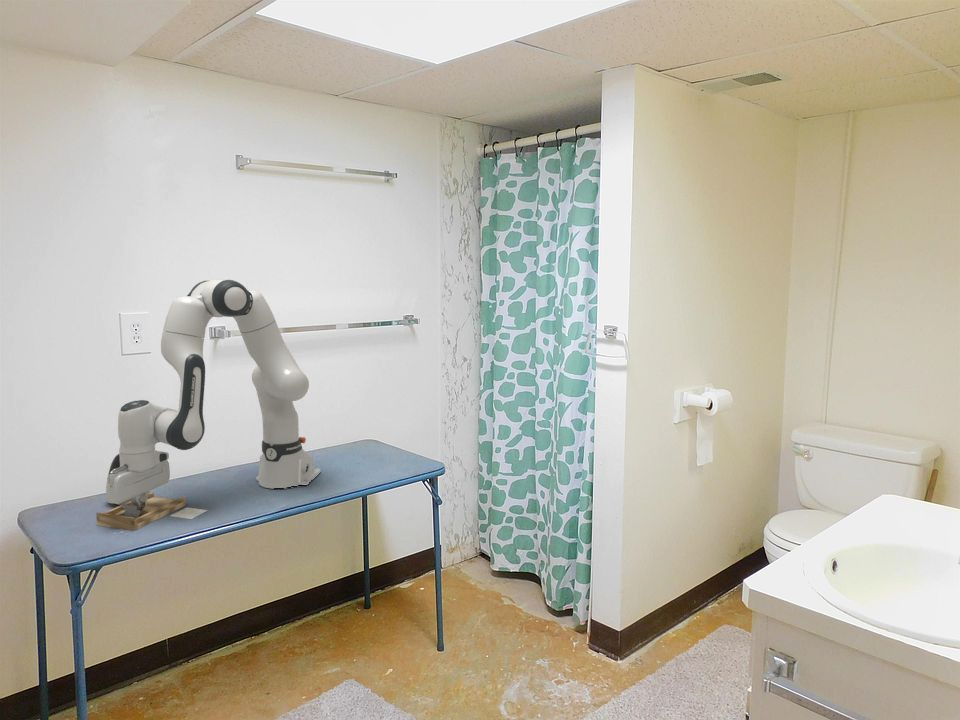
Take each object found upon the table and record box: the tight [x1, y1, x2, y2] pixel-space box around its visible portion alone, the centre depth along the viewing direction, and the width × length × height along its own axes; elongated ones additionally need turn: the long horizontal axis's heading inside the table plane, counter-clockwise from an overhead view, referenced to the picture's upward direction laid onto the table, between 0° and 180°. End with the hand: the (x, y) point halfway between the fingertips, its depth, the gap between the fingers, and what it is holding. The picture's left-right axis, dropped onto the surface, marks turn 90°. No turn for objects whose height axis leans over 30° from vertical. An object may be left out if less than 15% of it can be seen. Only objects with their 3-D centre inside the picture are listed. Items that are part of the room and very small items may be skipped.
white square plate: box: [170, 507, 208, 520], centre depth 197 cm, size 7×7×1 cm
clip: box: [121, 504, 144, 519], centre depth 190 cm, size 5×5×2 cm
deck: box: [95, 491, 187, 531], centre depth 195 cm, size 20×12×4 cm, turn 164°
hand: (140, 508), depth 194 cm, fingers closed
